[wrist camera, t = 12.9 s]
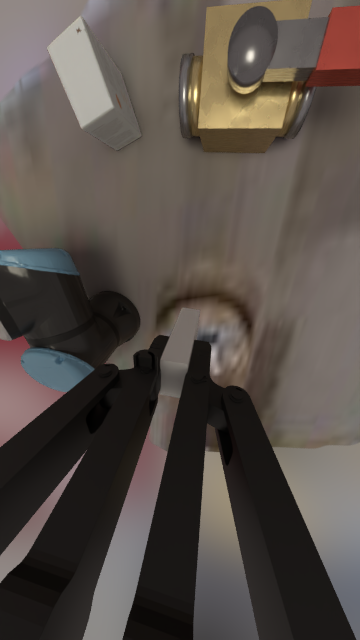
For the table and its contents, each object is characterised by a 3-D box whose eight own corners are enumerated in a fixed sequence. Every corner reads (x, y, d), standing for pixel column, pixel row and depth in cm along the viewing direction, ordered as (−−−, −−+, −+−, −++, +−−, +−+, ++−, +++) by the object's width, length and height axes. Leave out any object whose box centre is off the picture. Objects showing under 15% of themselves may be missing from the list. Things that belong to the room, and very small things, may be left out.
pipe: (186, 145, 32) (177, 126, 25) (190, 77, 28) (180, 34, 21) (286, 146, 29) (305, 125, 23) (305, 72, 26) (334, 23, 19)
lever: (223, 95, 21) (224, 80, 19) (231, 30, 19) (232, 5, 16) (393, 92, 19) (416, 75, 16) (424, 18, 16) (456, -13, 14)
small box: (95, 94, 31) (43, 44, 22) (122, 73, 29) (79, 10, 20) (117, 152, 34) (80, 130, 25) (143, 137, 33) (113, 107, 24)
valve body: (192, 151, 32) (180, 124, 23) (197, 72, 28) (185, -3, 18) (277, 153, 30) (303, 123, 21) (297, 68, 26) (342, -19, 16)
